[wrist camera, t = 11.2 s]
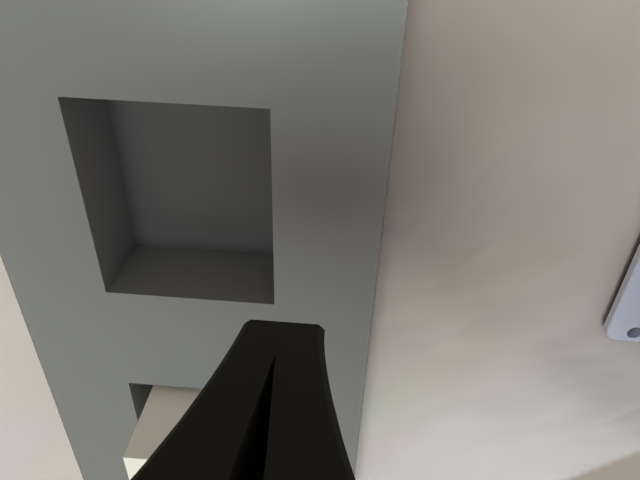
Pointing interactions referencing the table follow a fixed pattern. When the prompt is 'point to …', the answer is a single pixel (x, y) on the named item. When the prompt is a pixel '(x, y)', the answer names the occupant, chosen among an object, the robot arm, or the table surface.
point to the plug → (156, 423)
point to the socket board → (191, 191)
